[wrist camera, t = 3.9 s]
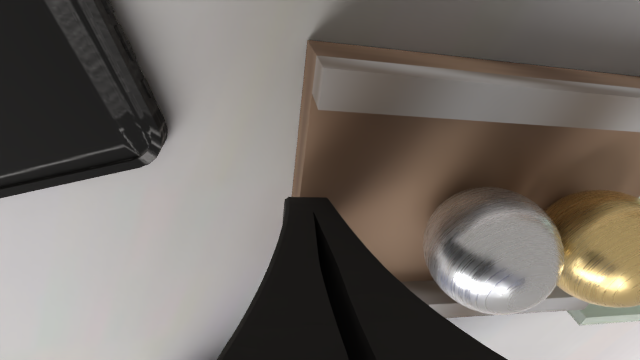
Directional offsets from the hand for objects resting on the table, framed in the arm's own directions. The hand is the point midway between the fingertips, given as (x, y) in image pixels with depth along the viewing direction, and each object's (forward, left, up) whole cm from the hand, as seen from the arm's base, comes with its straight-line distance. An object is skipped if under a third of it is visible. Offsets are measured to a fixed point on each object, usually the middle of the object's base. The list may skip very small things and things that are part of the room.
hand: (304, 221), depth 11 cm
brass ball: (+10, 0, +1) cm, 10 cm away
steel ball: (+6, 0, +1) cm, 6 cm away
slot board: (+7, 0, -3) cm, 7 cm away
